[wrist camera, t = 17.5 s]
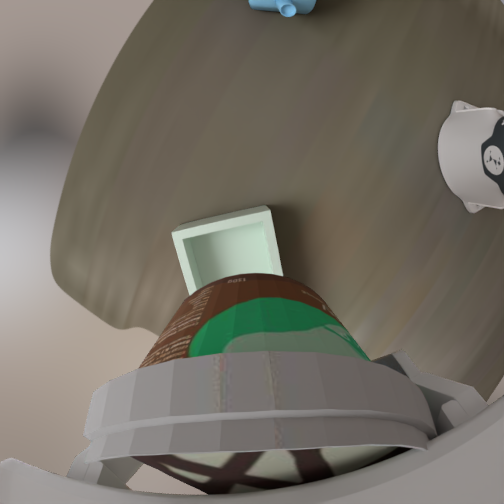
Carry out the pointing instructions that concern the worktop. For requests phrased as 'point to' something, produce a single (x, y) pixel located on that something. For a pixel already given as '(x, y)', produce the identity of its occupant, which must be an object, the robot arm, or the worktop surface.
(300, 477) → the food container
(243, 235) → the crate
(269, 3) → the teapot
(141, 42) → the worktop surface
